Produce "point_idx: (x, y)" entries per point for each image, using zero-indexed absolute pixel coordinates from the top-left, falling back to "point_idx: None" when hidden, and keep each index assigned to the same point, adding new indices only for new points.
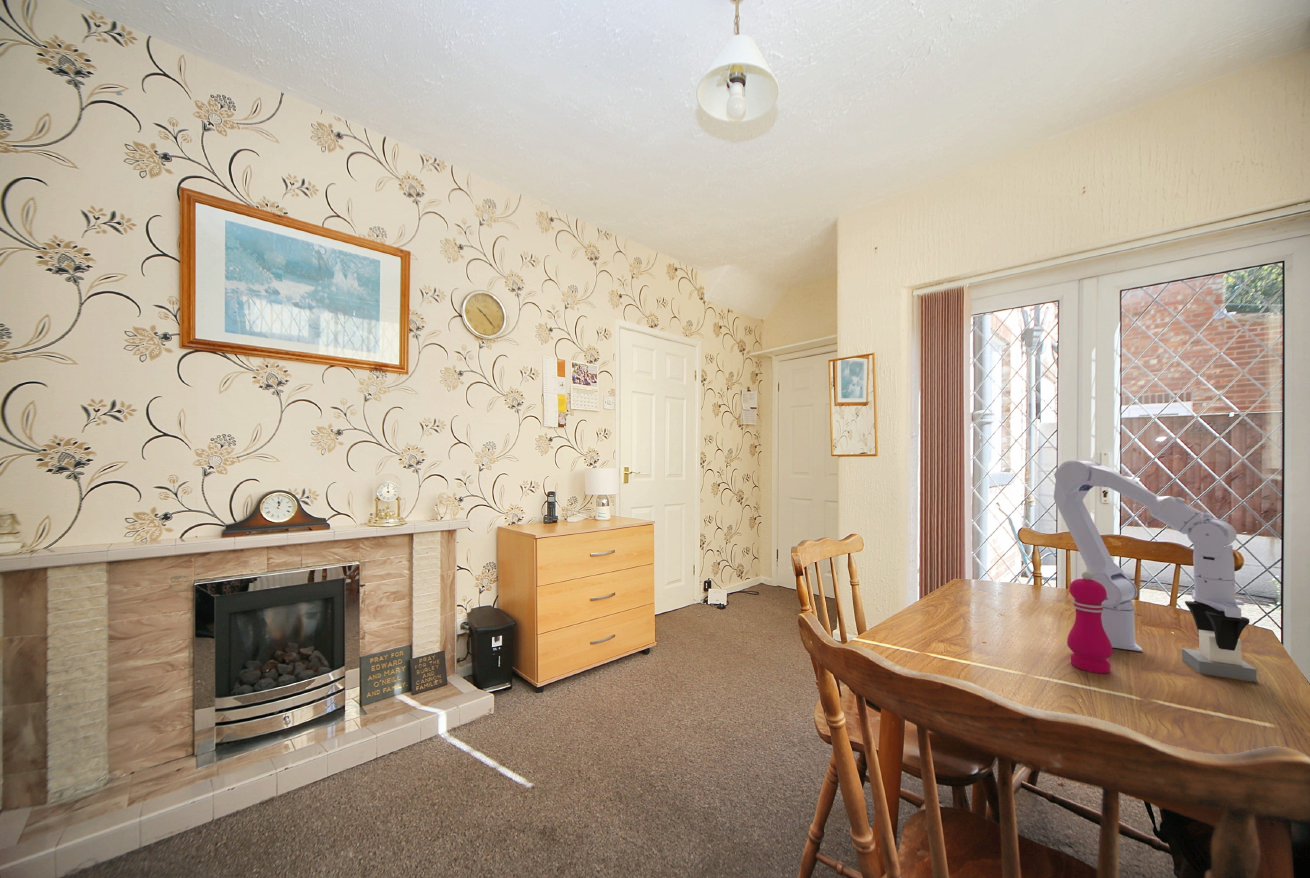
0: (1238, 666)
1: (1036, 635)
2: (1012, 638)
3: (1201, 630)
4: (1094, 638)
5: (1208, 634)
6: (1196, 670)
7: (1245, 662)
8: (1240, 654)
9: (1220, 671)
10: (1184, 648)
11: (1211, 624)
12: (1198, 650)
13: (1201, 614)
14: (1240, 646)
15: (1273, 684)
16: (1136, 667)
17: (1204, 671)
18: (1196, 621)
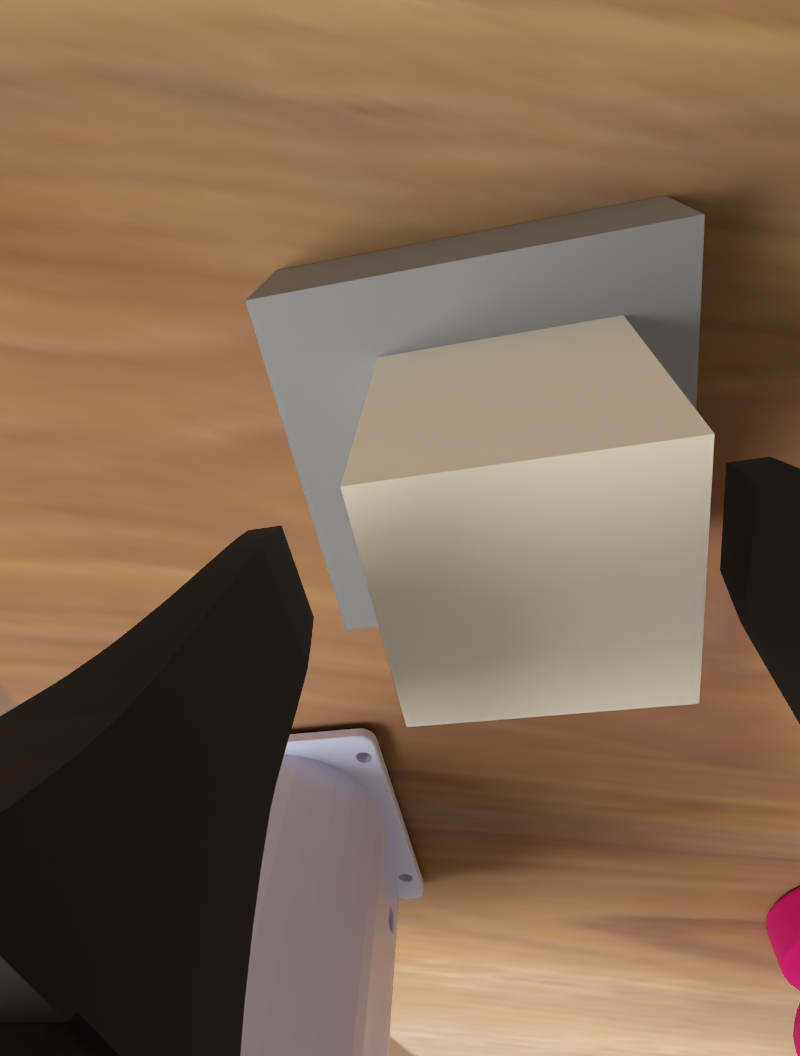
0: (687, 353)
1: (421, 997)
2: (546, 1046)
3: (433, 713)
4: None
5: (608, 694)
6: None
7: (482, 258)
8: (651, 361)
9: None
10: (351, 618)
11: (233, 663)
12: (331, 544)
13: (228, 862)
14: (686, 399)
15: (657, 56)
16: (734, 781)
17: None
18: (270, 786)
